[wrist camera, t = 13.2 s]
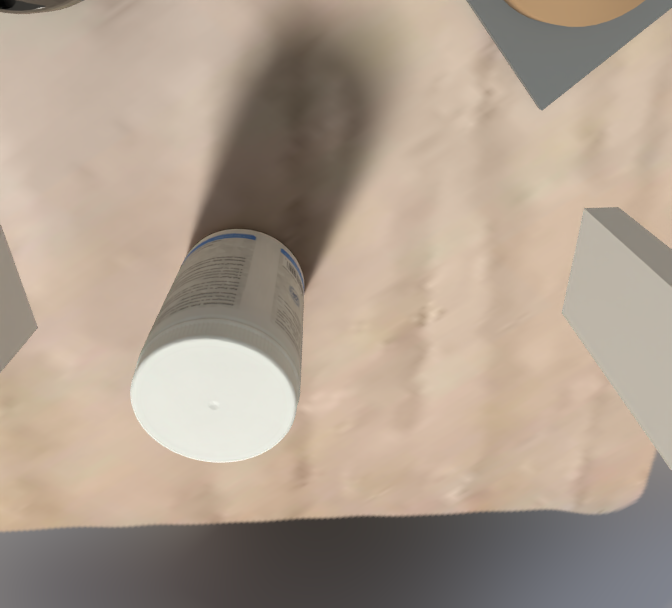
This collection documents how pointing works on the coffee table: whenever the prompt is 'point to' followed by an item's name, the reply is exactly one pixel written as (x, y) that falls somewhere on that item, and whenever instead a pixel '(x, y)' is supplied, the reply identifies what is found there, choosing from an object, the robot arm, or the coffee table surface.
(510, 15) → the stand
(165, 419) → the supplement tub
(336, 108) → the coffee table surface
